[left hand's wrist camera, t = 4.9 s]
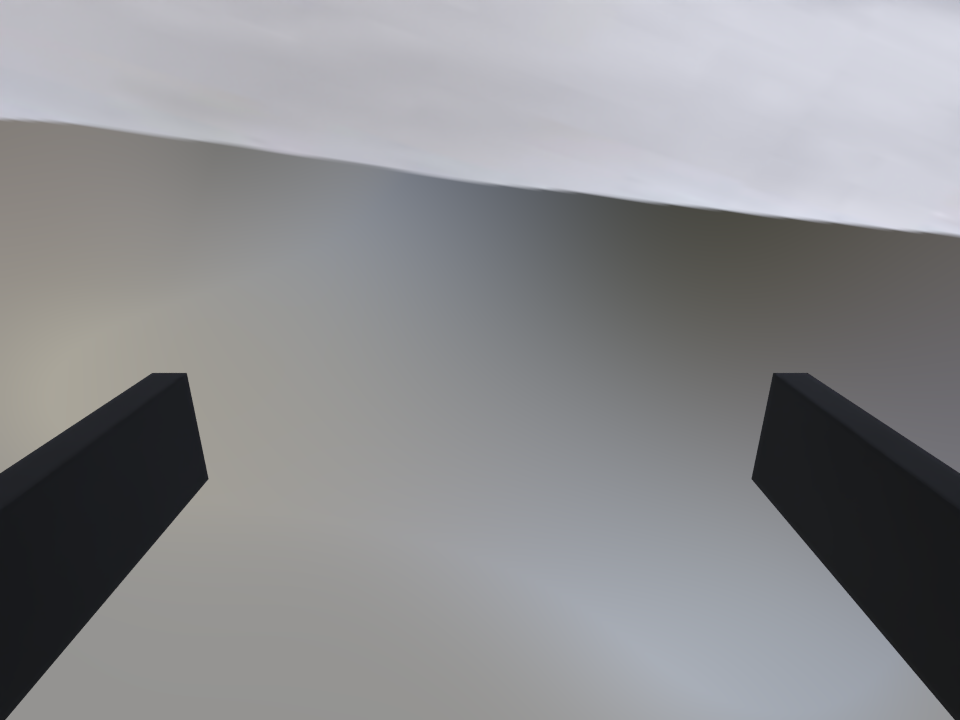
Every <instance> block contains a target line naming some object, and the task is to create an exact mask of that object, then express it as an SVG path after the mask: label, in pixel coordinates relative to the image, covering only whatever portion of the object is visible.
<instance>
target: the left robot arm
mask: <svg viewBox="0 0 960 720" xmlns="http://www.w3.org/2000/svg"><path fill="white" fill-rule="evenodd" d="M207 480H208V475H207V470H206V465H205V460H204V455H203V450H202V445H201V440H200V436H199V431H198V426H197V421H196V416H195V411H194V406H193V402H192V397H191V392H190V387H189V382H188V377H187V373H152V374H150V375H149V376H147V377H146V378H144V379H143V380H141V381H140V382H138V383H137V384H135V385H134V386H132V387H131V388H129V389H128V390H126V391H125V392H123V393H121V394H120V395H118V396H117V397H115V398H114V399H112V400H111V401H109V402H108V403H106V404H105V405H103V406H102V407H100V408H99V409H97V410H96V411H94V412H93V413H91V414H90V415H88V416H87V417H85V418H84V419H82V420H81V421H79V422H78V423H76V424H75V425H73V426H71V427H70V428H68V429H67V430H65V431H64V432H62V433H61V434H59V435H58V436H56V437H55V438H53V439H52V440H50V441H49V442H47V443H46V444H44V445H43V446H41V447H40V448H38V449H37V450H35V451H34V452H32V453H30V454H29V455H27V456H26V457H24V458H23V459H21V460H20V461H18V462H17V463H15V464H14V465H12V466H11V467H9V468H8V469H6V470H5V471H3V472H2V473H0V720H5V719H6V718H7V717H8V716H9V715H10V713H11V712H12V711H13V710H14V709H15V708H16V706H17V705H18V704H19V703H20V702H21V700H22V699H23V698H24V697H25V696H26V695H27V693H28V692H29V691H30V690H31V689H32V687H33V686H34V685H35V684H36V683H37V681H38V680H39V679H40V678H41V677H42V676H43V674H44V673H45V672H46V671H47V670H48V668H49V667H50V666H51V665H52V664H53V662H54V661H55V660H56V659H57V658H58V657H59V655H60V654H61V653H62V652H63V651H64V649H65V648H66V647H67V646H68V645H69V644H70V642H71V641H72V640H73V639H74V638H75V636H76V635H77V634H78V633H79V632H80V631H81V629H82V628H83V627H84V626H85V625H86V623H87V622H88V621H89V620H90V619H91V617H92V616H93V615H94V614H95V613H96V612H97V610H98V609H99V608H100V607H101V606H102V604H103V603H104V602H105V601H106V600H107V598H108V597H109V596H110V595H111V594H112V593H113V591H114V590H115V589H116V588H117V587H118V585H119V584H120V583H121V582H122V581H123V580H124V578H125V577H126V576H127V575H128V574H129V572H130V571H131V570H132V569H133V568H134V567H135V565H136V564H137V563H138V562H139V561H140V559H141V558H142V557H143V556H144V555H145V554H146V552H147V551H148V550H149V549H150V548H151V546H152V545H153V544H154V543H155V542H156V540H157V539H158V538H159V537H160V536H161V535H162V533H163V532H164V531H165V530H166V529H167V527H168V526H169V525H170V524H171V523H172V521H173V520H174V519H175V518H176V517H177V516H178V514H179V513H180V512H181V511H182V510H183V508H184V507H185V506H186V505H187V504H188V503H189V501H190V500H191V499H192V498H193V497H194V495H195V494H196V493H197V492H198V491H199V490H200V488H201V487H202V486H203V485H204V484H205V482H206V481H207ZM752 480H753V481H754V482H755V484H756V485H757V486H758V487H759V488H760V490H761V491H762V492H763V493H764V494H765V495H766V497H767V498H768V499H769V500H770V501H771V503H772V504H773V505H774V506H775V507H776V508H777V510H778V511H779V512H780V513H781V514H782V516H783V517H784V518H785V519H786V520H787V522H788V523H789V524H790V525H791V526H792V527H793V529H794V530H795V531H796V532H797V533H798V535H799V536H800V537H801V538H802V539H803V540H804V542H805V543H806V544H807V545H808V546H809V548H810V549H811V550H812V551H813V552H814V553H815V555H816V556H817V557H818V558H819V559H820V561H821V562H822V563H823V564H824V565H825V567H826V568H827V569H828V570H829V571H830V572H831V574H832V575H833V576H834V577H835V578H836V580H837V581H838V582H839V583H840V584H841V585H842V587H843V588H844V589H845V590H846V591H847V593H848V594H849V595H850V596H851V597H852V598H853V600H854V601H855V602H856V603H857V604H858V606H859V607H860V608H861V609H862V610H863V612H864V613H865V614H866V615H867V616H868V617H869V619H870V620H871V621H872V622H873V623H874V625H875V626H876V627H877V628H878V629H879V630H880V632H881V633H882V634H883V635H884V636H885V638H886V639H887V640H888V641H889V642H890V644H891V645H892V646H893V647H894V648H895V649H896V651H897V652H898V653H899V654H900V655H901V657H902V658H903V659H904V660H905V661H906V663H907V664H908V665H909V666H910V667H911V668H912V670H913V671H914V672H915V673H916V674H917V676H918V677H919V678H920V679H921V680H922V681H923V683H924V684H925V685H926V686H927V687H928V689H929V690H930V691H931V692H932V693H933V695H934V696H935V697H936V698H937V699H938V700H939V702H940V703H941V704H942V705H943V706H944V708H945V709H946V710H947V711H948V712H949V713H950V715H951V716H952V717H953V718H954V719H955V720H960V473H958V472H957V471H955V470H954V469H952V468H951V467H949V466H948V465H946V464H945V463H943V462H942V461H940V460H939V459H937V458H935V457H934V456H933V455H931V454H929V453H928V452H926V451H925V450H923V449H922V448H920V447H919V446H917V445H916V444H914V443H913V442H911V441H910V440H908V439H907V438H905V437H904V436H902V435H901V434H899V433H898V432H896V431H895V430H893V429H892V428H890V427H889V426H887V425H886V424H884V423H882V422H881V421H879V420H878V419H876V418H875V417H873V416H872V415H870V414H869V413H867V412H866V411H864V410H863V409H861V408H860V407H858V406H857V405H855V404H854V403H852V402H851V401H849V400H848V399H846V398H845V397H843V396H842V395H840V394H839V393H837V392H835V391H834V390H832V389H831V388H829V387H828V386H826V385H825V384H823V383H822V382H820V381H819V380H817V379H816V378H814V377H813V376H811V375H810V374H808V373H773V377H772V382H771V387H770V392H769V397H768V402H767V406H766V411H765V416H764V421H763V426H762V431H761V436H760V441H759V445H758V450H757V455H756V460H755V465H754V470H753V475H752Z"/></svg>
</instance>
